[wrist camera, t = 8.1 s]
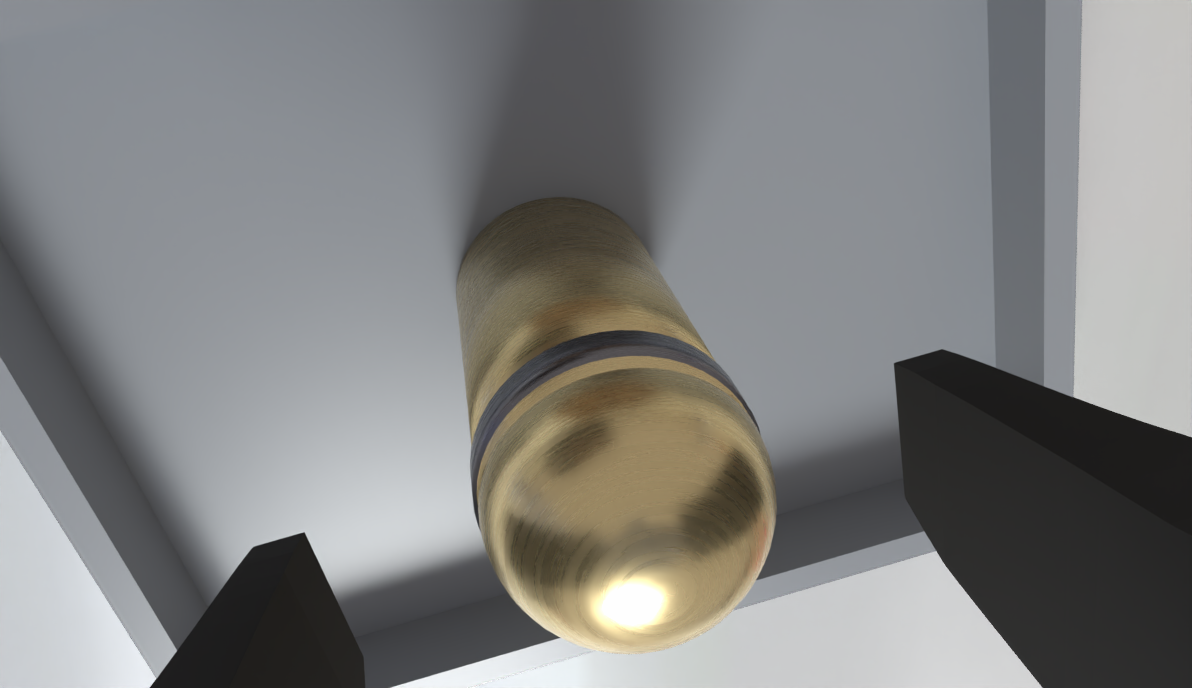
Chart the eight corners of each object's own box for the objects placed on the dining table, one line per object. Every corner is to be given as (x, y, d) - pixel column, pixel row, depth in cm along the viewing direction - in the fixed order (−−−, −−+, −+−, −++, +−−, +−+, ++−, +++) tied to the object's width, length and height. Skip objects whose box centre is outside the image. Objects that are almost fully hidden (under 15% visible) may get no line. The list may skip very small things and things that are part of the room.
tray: (233, 669, 21) (210, 764, 18) (-136, 22, 14) (-239, 49, 12) (1004, 445, 22) (1070, 511, 19) (990, -264, 15) (1087, -289, 13)
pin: (485, 404, 18) (534, 764, 11) (426, 226, 16) (438, 512, 9) (671, 351, 18) (844, 670, 11) (633, 169, 16) (808, 404, 9)
